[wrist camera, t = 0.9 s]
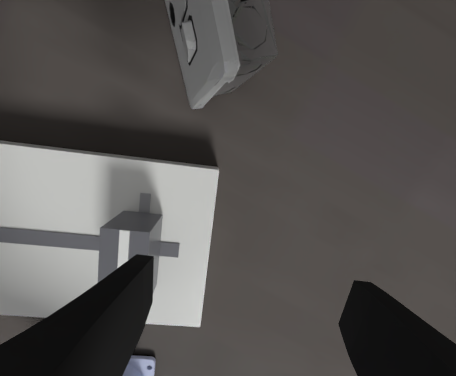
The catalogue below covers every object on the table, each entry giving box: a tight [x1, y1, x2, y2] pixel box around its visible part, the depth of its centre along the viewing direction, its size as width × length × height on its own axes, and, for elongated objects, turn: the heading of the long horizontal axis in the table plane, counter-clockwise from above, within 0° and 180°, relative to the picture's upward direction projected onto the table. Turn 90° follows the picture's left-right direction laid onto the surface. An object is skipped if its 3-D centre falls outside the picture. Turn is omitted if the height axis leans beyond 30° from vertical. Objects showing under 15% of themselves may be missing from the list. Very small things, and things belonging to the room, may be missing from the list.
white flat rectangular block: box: [0, 140, 219, 327], centre depth 20 cm, size 14×25×3 cm, turn 83°
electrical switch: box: [165, 0, 278, 109], centre depth 16 cm, size 9×5×9 cm, turn 12°
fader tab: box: [98, 211, 163, 293], centre depth 17 cm, size 6×3×4 cm, turn 173°
